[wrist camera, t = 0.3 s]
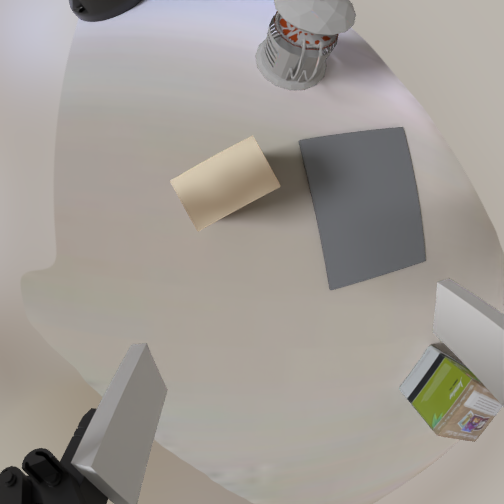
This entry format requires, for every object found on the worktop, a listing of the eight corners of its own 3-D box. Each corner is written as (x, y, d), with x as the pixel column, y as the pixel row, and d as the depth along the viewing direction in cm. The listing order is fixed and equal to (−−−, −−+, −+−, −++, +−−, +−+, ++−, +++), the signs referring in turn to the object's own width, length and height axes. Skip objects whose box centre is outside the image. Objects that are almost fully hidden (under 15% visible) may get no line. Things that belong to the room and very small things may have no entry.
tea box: (466, 364, 44) (509, 399, 29) (437, 403, 45) (474, 444, 31) (429, 342, 42) (480, 384, 27) (396, 388, 43) (436, 439, 29)
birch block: (190, 186, 36) (169, 181, 24) (249, 154, 35) (255, 134, 24) (210, 221, 37) (197, 231, 25) (268, 189, 36) (283, 185, 24)
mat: (298, 141, 35) (299, 140, 35) (401, 127, 35) (402, 127, 35) (329, 289, 39) (330, 290, 38) (423, 260, 39) (425, 260, 39)
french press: (326, 39, 33) (401, -74, 8) (325, 107, 35) (434, 11, 10) (257, 28, 32) (281, -107, 7) (251, 98, 34) (276, -37, 9)
